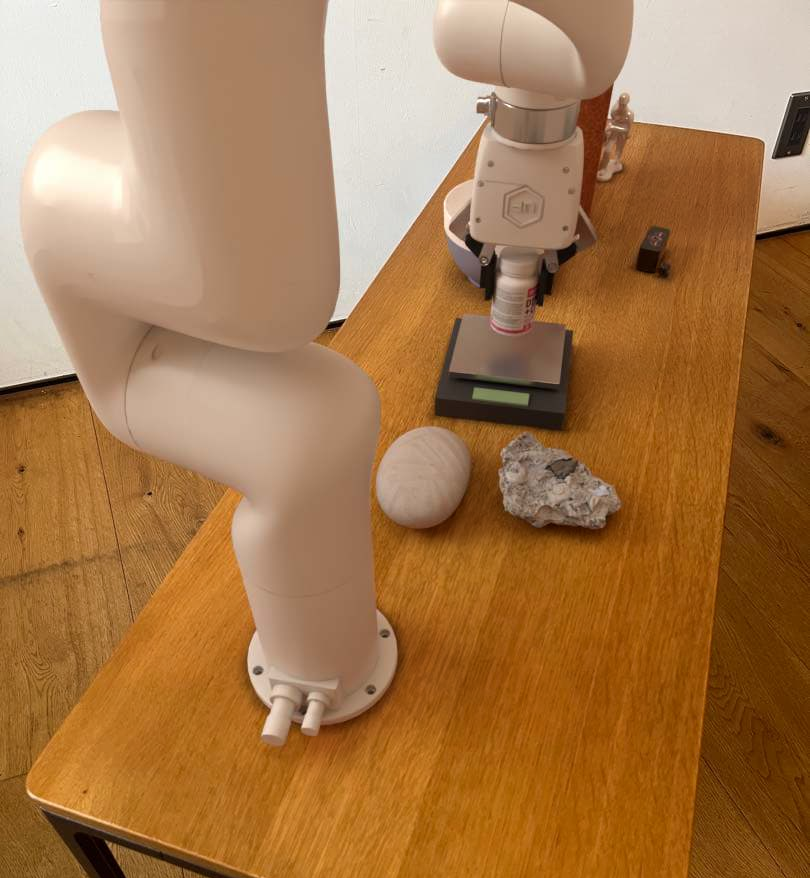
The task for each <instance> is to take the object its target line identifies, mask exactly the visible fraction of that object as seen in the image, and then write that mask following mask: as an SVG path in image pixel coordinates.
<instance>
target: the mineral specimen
mask: <svg viewBox="0 0 810 878" xmlns="http://www.w3.org/2000/svg"><path fill="white" fill-rule="evenodd" d="M499 453H500V458H502V465H503V466H502V467H501V468H500V469H498V470H497V471H498V476H499V481H498V484H499V489H500V493H502V496H503V497H502V499H503V501H502V504H503V507H504V511H505V512H507V513H509V514H511V516H512V515H513V516H514V517H518V518H519V517H520V518H521V519H522V520H526V522H527V523H530V524H531V526H533V527H535V528H542V527H545V526H547V525H548V524H551V523H552V524H554V525H555V524H556V525H558V526H563V525H564V526H571V527H578V526H582V527H583V528H589V529H590V530H593V529H594V530H598V529H603V528H604V527H605V526H606V525H607V522H606V521H607V519H606V516H609V515H612V514H613V513H614V512H616V511H619V510H620V509H622V504H623V503H622V501H621V500H620V498H619V496H618V494H617V491H616V489H615V486H614V485H613V484H609V483H607V482H605V480H602V478H601V477H596V476H594V474H593V472H592V471H591V470H590V468H589V467H588V466H586V465H585V463H584V462H582V461H581V460H578V459H576V458H575V459H574V458H573V456H572V455H570V454H569V452H568V451H566V450H563V449H559V448H558V449H557V448H554V447H545V445H544V444H543V443H542V442H540V441H538V439H537V437H536V436H535V435H534V434H533V433H531V432H528V431H524V432H523V434H522V433H521V434H519V435H515V438H514V439H512V440H511V442H508V444H507V445H506V446H505V447H504V448H502V451H500V452H499Z"/></svg>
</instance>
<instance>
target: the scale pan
mask: <svg viewBox="0 0 810 878" xmlns="http://www.w3.org/2000/svg"><path fill="white" fill-rule="evenodd" d="M490 316H491V315H481V314H472V313H462V317H461V318H462V321H461V325H460V329H459V333H458V337H457V341H456V345H455V349H454V353H453V357H452V361H451V365H450V368H449V377H455V378H464V379H472V380H481V381H489V382H498V383H507V384H515V385H524V386H532V387H541V388H549V389H559V384H560V375H561V366H562V357H563V348H564V338H565V330H567V329H566V328H567V324H566V323H559V322H558V323H556V322H550V321H549V322H547V321H540V320H539V321H538V320H536V321H535V320H534V323H533V327H532V329H531V330H530V331H529V332H528V333H526V334H524V335H521V336H506V335H502V334H500V333H498V332H496V331H495V330H494V329H493V328H492V327H491V324H490Z"/></svg>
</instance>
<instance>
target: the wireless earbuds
mask: <svg viewBox="0 0 810 878" xmlns="http://www.w3.org/2000/svg"><path fill="white" fill-rule="evenodd" d="M670 235H671V230H670V228H666V227H662V226H657V225H651V226H650V227H649V228H648V230H647V232H646V234H645V236H644V238H643V239H642V241H641V243H640V246H639V248H638V252H637V253H638V254H637V257H636V262H635V268H636V269H637V270H640V271H644V272H649V273H653V272H655V271H656V270H657V269H658V270H657V275H658V276H660V277H663V278H669V275H670V270H671V269H672V264H671V263H670V262H666V263H664V264H663V265H660V267H659V268H658V266H659V264H660V263H661V260H662V258H663V256H664V255H665V252H666V249H667V246H668V243H669V238H670Z"/></svg>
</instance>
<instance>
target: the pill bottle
mask: <svg viewBox="0 0 810 878" xmlns="http://www.w3.org/2000/svg"><path fill="white" fill-rule="evenodd" d="M538 264H539V253H538V251H537V250H536V249H533V248H522V247H511V246H507V247H505V248H503V249H502V250H501V252H500V259H499V267H498V268H497V269H496V271H495V274H494V284H493V295H492V299H491V308H490V315H489V316H490V324H491V327H492V328H493V329H494V330H495V331H496V332H498V333H500V334H502V335H506V336H521V335H524V334H526V333H528V332H529V331H530V330H531V329H532V327H533V323H534V321H535V316H536V308H537V305H536V302H537V295H538V288H539V281H540V274H539V271H538V270H537V269H538Z"/></svg>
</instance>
